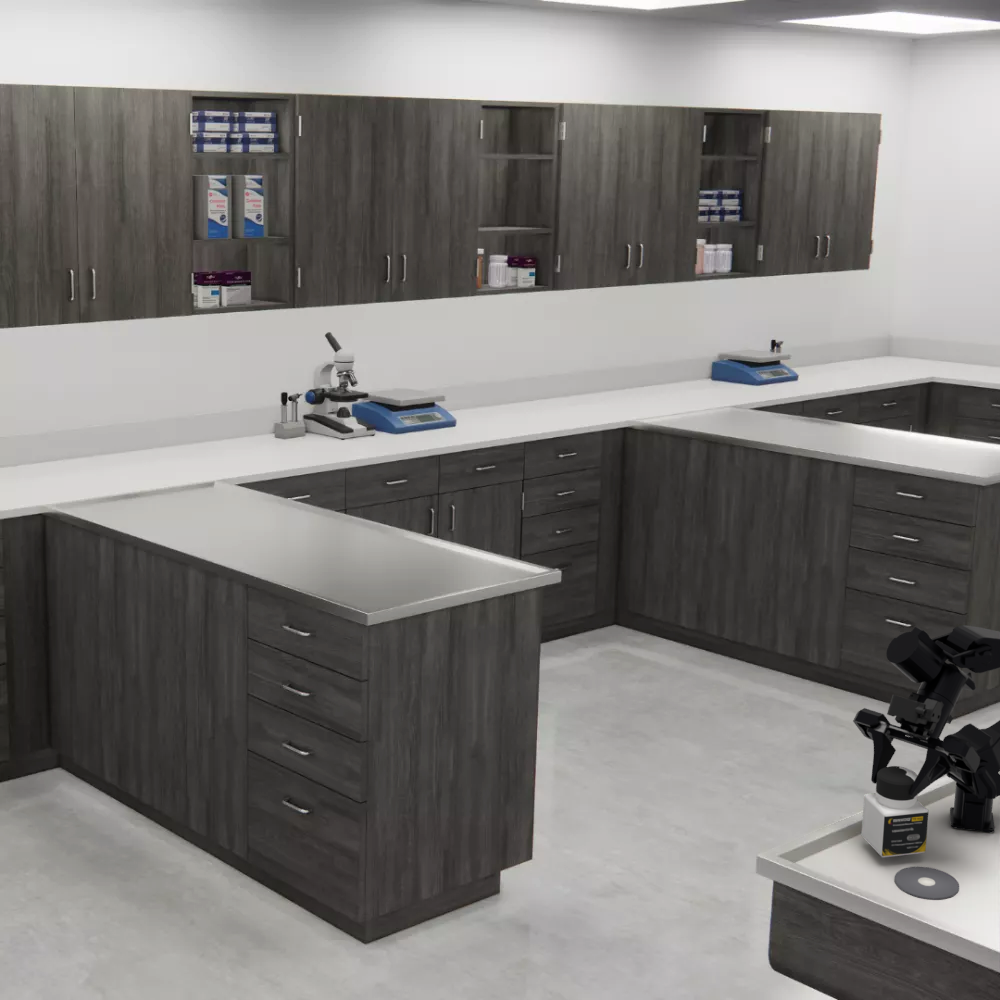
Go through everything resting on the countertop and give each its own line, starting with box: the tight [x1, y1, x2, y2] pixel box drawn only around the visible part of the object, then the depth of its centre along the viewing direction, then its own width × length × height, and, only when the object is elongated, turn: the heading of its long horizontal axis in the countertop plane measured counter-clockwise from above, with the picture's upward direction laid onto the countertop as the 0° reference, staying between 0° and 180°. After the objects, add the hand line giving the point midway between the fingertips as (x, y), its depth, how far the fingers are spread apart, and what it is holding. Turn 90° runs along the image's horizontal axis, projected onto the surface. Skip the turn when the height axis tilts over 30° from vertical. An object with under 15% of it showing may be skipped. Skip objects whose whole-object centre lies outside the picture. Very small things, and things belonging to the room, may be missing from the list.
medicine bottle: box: [861, 765, 929, 858], centre depth 216 cm, size 7×7×12 cm
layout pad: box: [894, 865, 960, 901], centre depth 209 cm, size 9×9×1 cm
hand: (892, 789), depth 214 cm, fingers closed on medicine bottle, 6 cm apart
